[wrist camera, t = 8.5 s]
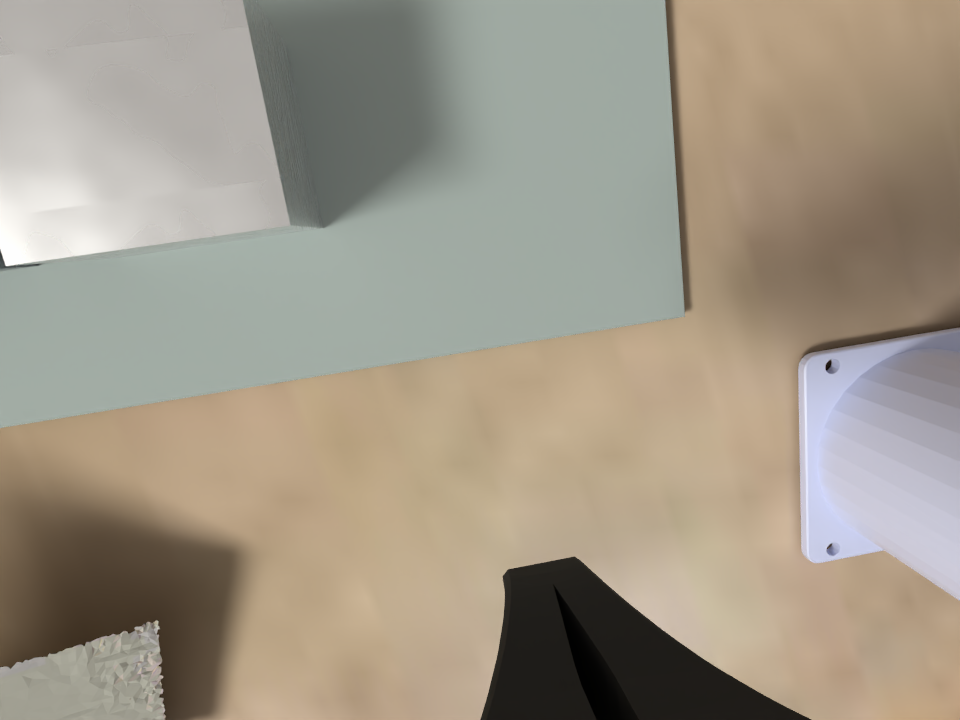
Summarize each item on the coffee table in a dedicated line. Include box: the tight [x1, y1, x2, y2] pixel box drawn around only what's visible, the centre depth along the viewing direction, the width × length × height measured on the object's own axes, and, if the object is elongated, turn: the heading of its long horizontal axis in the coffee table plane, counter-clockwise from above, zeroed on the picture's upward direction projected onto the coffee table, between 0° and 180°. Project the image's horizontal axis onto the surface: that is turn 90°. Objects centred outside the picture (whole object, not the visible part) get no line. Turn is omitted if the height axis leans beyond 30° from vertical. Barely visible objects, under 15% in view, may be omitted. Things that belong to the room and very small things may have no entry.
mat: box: [0, 0, 685, 428], centre depth 17 cm, size 22×12×1 cm, turn 98°
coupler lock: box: [0, 0, 323, 266], centre depth 14 cm, size 6×5×4 cm
